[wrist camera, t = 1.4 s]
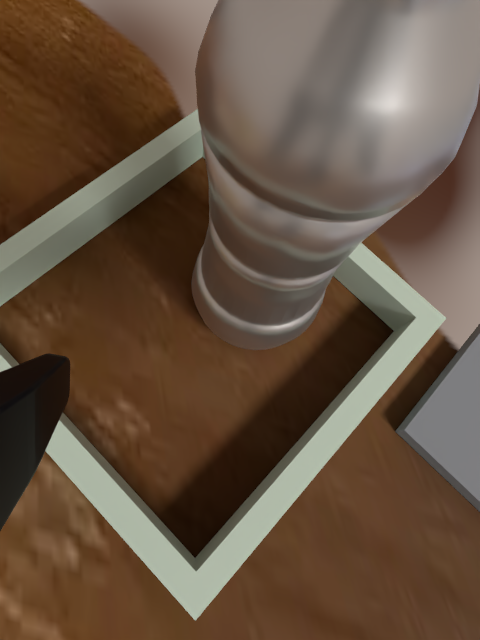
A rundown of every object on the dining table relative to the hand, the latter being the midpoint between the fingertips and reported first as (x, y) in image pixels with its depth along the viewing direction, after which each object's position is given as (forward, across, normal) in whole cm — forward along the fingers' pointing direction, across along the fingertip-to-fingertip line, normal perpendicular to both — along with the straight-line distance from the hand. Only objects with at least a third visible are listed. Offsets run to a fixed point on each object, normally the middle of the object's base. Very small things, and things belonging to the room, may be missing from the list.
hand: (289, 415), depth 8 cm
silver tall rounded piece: (+15, 0, +4) cm, 16 cm away
